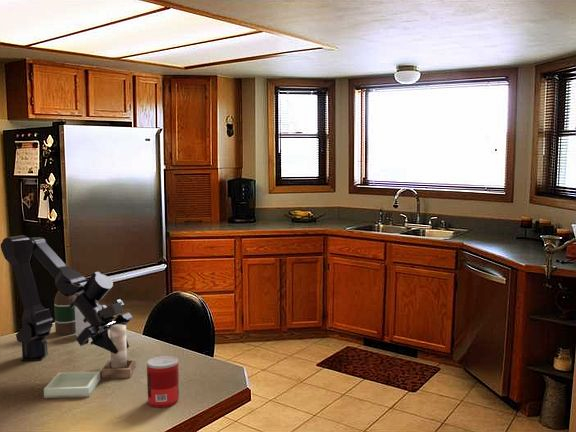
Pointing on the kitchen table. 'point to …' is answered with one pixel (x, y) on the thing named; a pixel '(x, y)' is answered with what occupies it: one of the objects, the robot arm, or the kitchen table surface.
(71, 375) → the tray
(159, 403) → the canned food
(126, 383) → the kitchen table surface
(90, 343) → the robot arm
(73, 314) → the beer bottle
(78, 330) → the skincare box
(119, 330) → the peg
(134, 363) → the brown square open box
